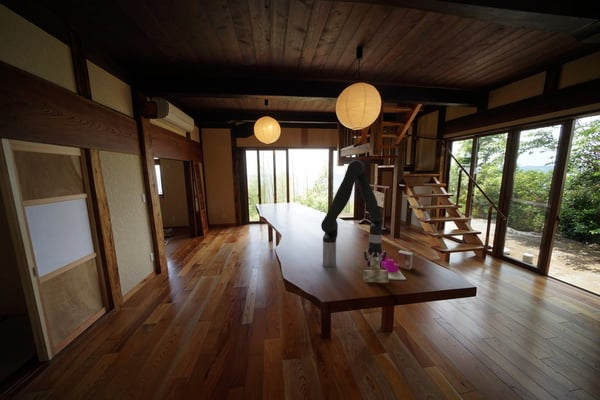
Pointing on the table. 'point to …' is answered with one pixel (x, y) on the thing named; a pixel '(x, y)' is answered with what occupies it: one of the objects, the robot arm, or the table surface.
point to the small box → (405, 259)
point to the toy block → (389, 264)
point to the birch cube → (374, 264)
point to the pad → (395, 275)
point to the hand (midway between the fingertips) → (374, 266)
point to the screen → (376, 276)
